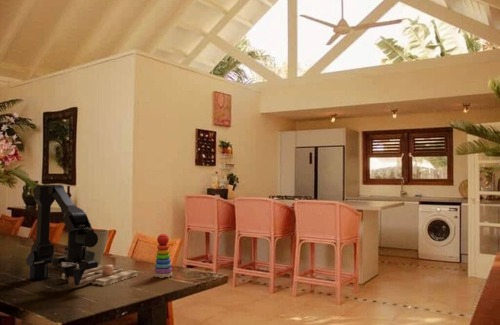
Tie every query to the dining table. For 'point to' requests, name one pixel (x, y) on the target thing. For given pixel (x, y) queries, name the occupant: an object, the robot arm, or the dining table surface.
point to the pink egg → (107, 269)
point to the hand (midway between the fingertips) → (74, 284)
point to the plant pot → (99, 244)
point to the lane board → (110, 279)
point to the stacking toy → (163, 258)
